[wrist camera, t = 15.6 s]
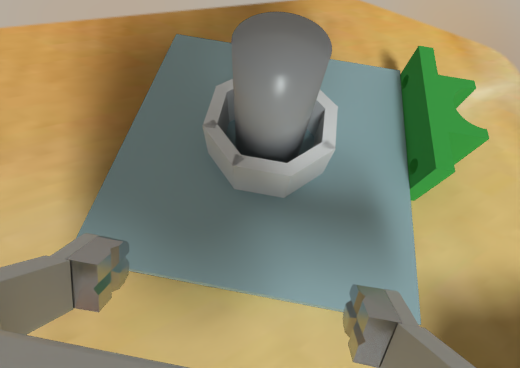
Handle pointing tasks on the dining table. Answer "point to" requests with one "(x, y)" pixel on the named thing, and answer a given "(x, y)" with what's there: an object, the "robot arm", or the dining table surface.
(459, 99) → the pipe clamp
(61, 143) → the dining table surface
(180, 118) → the duct base
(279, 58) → the gray domed peg
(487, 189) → the dining table surface
